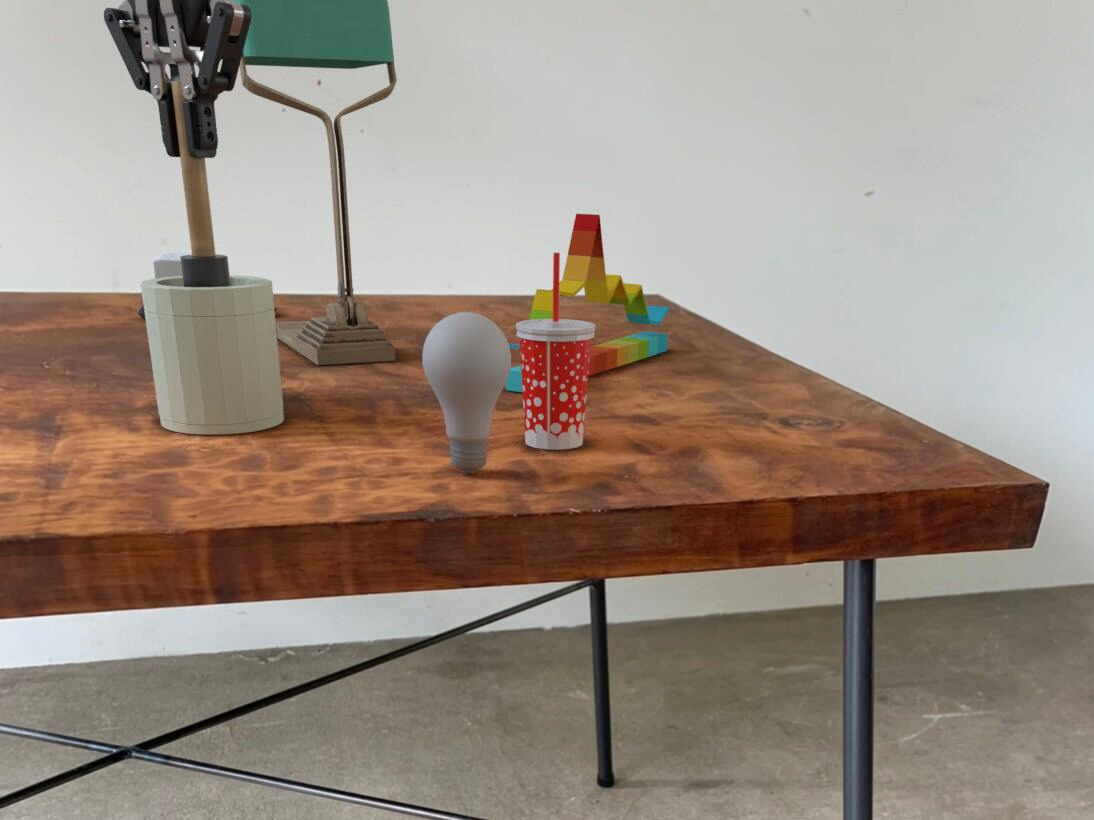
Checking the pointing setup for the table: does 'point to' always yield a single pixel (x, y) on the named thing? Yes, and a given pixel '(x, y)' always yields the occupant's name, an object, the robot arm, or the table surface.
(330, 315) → the banker's lamp
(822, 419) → the table surface
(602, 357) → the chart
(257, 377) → the jar
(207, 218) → the brush
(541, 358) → the beverage cup
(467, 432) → the lightbulb
